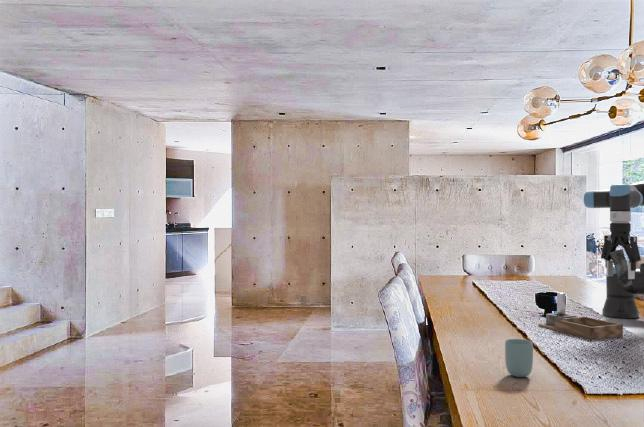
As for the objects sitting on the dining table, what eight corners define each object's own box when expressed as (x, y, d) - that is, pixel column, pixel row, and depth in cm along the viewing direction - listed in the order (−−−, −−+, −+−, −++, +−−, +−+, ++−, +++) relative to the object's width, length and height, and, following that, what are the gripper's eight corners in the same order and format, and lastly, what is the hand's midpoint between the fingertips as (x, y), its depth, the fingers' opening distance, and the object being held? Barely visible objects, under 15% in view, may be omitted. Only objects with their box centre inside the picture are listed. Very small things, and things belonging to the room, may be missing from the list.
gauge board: (567, 323, 256) (567, 311, 256) (622, 335, 230) (622, 323, 230) (538, 326, 250) (538, 314, 250) (591, 339, 224) (591, 326, 224)
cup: (501, 372, 179) (501, 339, 179) (526, 371, 180) (526, 338, 180) (511, 379, 171) (511, 344, 171) (537, 378, 172) (537, 344, 172)
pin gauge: (561, 323, 251) (561, 292, 251) (567, 324, 248) (567, 293, 248) (555, 323, 250) (555, 293, 250) (561, 325, 247) (561, 294, 247)
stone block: (620, 288, 237) (634, 285, 235) (608, 253, 238) (623, 250, 236) (620, 285, 245) (633, 282, 243) (609, 251, 246) (622, 248, 244)
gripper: (591, 222, 249) (591, 275, 250) (637, 223, 229) (637, 281, 229) (604, 221, 252) (604, 274, 253) (651, 222, 232) (651, 280, 232)
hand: (620, 277), depth 241 cm, fingers closed on stone block, 10 cm apart
